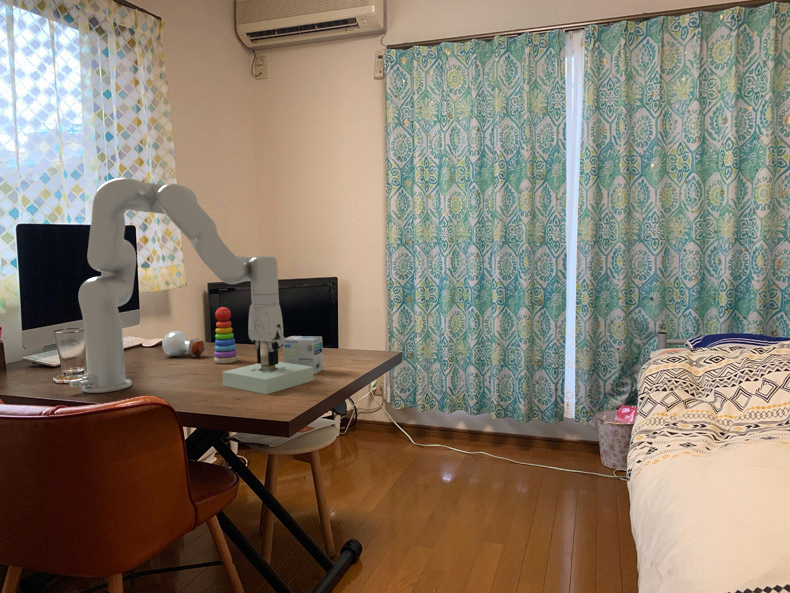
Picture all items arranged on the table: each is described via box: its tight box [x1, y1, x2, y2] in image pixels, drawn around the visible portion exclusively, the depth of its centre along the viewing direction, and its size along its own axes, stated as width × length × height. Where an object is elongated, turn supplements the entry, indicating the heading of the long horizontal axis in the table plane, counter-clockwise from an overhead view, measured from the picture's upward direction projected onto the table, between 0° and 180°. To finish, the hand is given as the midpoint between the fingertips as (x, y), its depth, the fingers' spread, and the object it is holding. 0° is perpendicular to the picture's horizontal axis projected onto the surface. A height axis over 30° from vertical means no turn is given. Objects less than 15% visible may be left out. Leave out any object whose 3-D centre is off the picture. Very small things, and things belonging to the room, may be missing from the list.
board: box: [222, 361, 315, 395], centre depth 165 cm, size 18×18×4 cm
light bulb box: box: [282, 335, 324, 375], centre depth 179 cm, size 11×7×11 cm, turn 74°
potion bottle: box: [161, 330, 206, 358], centre depth 208 cm, size 9×10×15 cm
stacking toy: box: [213, 306, 239, 365], centre depth 196 cm, size 8×8×19 cm
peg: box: [260, 339, 276, 372], centre depth 165 cm, size 4×4×12 cm
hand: (267, 363), depth 165 cm, fingers closed on peg, 4 cm apart
